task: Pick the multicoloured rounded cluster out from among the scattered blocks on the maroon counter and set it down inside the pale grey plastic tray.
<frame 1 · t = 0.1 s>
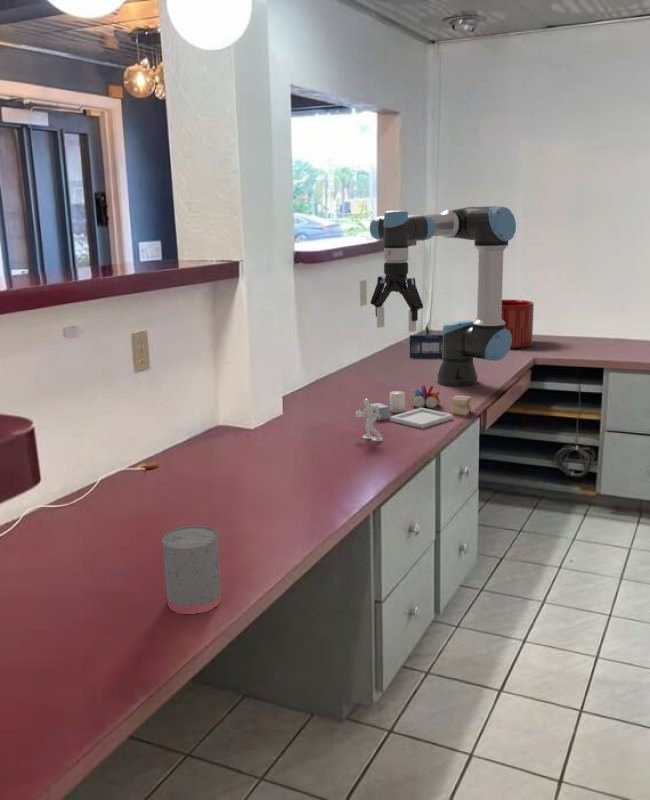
hand: (396, 329, 250), 28 cm above the worktop, fingers open, 13 cm apart
speckled grey cylinder: (194, 602, 139), on the worktop
multicoloured rounded cluster: (425, 406, 265), on the worktop
slate block: (378, 417, 253), on the worktop
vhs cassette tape: (430, 357, 346), on the worktop
planter: (506, 345, 369), on the worktop
figurine: (368, 439, 231), on the worktop
oak block: (460, 412, 256), on the worktop
tray: (421, 419, 248), on the worktop
white domed cylinder: (397, 410, 260), on the worktop
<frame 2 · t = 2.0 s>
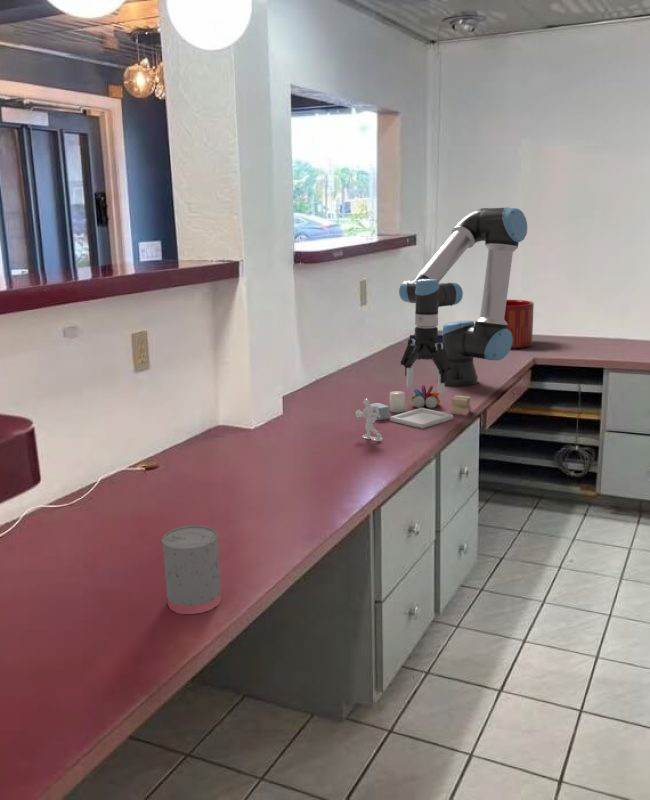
hand: (425, 389, 264), 6 cm above the worktop, fingers open, 13 cm apart
nothing on the worktop moved.
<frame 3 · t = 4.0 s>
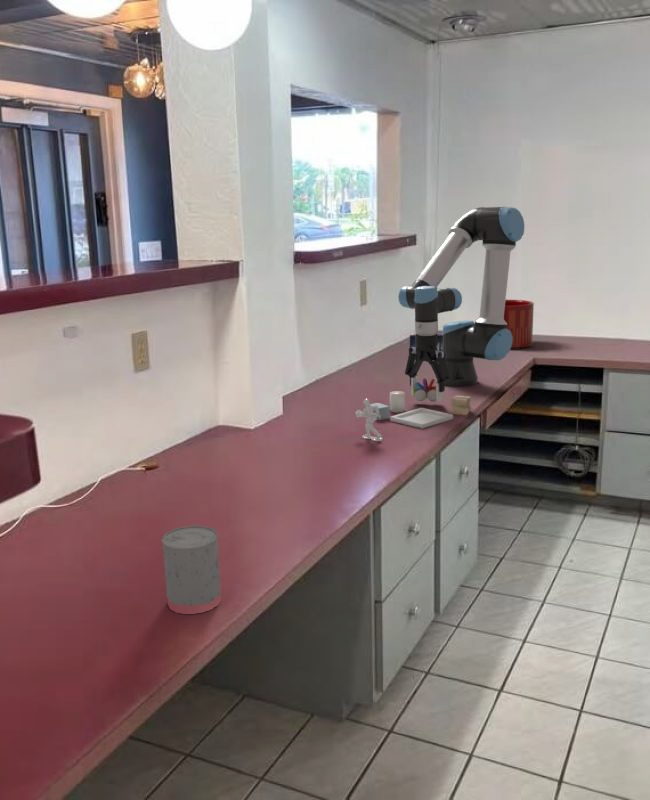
hand: (427, 398, 265), 2 cm above the worktop, fingers closed on multicoloured rounded cluster, 10 cm apart
multicoloured rounded cluster: (427, 399, 265), point 2 cm above the worktop, touching gripper
everything else where it was.
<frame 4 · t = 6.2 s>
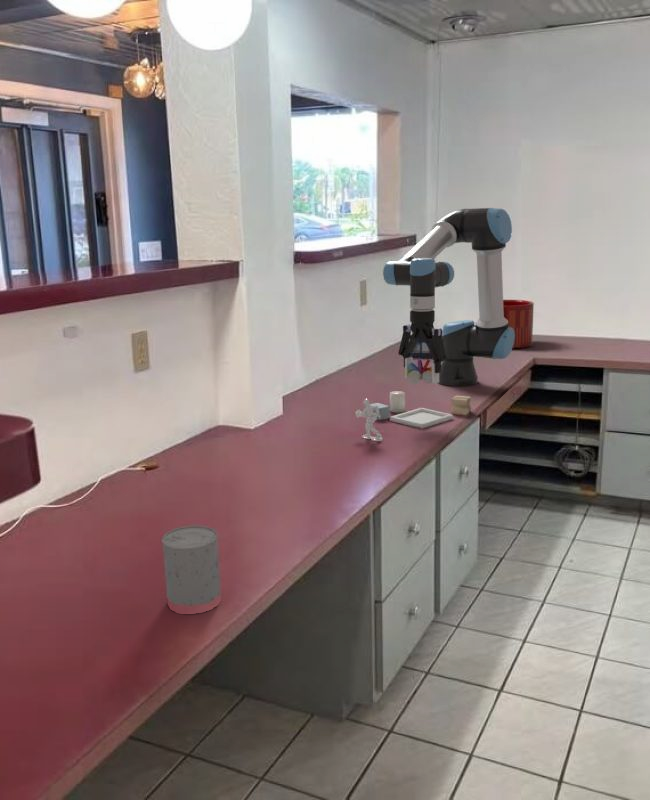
hand: (421, 380, 245), 13 cm above the worktop, fingers closed on multicoloured rounded cluster, 10 cm apart
multicoloured rounded cluster: (422, 382, 245), point 12 cm above the worktop, touching gripper
everything else where it was.
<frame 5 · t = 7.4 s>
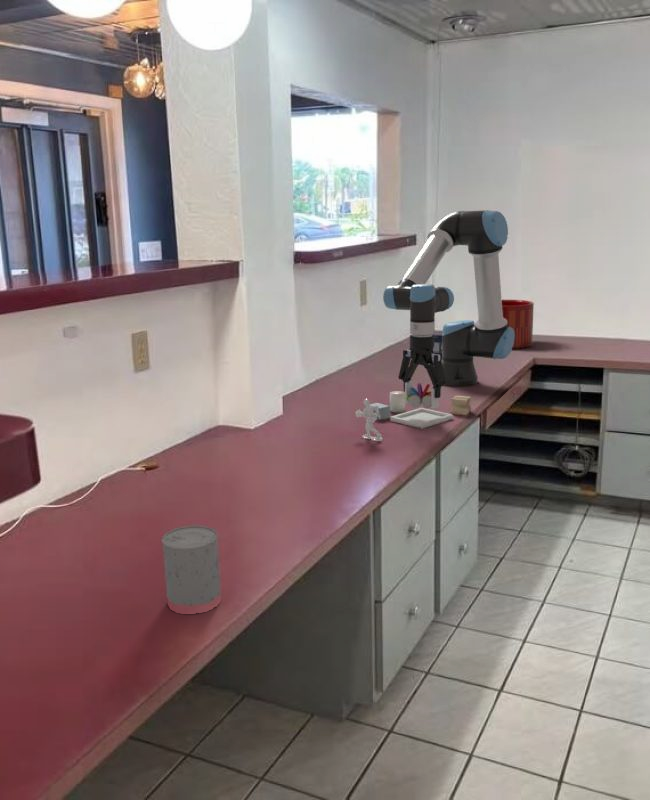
hand: (421, 404, 247), 5 cm above the worktop, fingers closed on multicoloured rounded cluster, 10 cm apart
multicoloured rounded cluster: (421, 406, 247), point 4 cm above the worktop, touching gripper
everything else where it was.
when the fingers open (2 cm above the worktop, at t = 8.5 s): multicoloured rounded cluster drops 1 cm, resting on tray.
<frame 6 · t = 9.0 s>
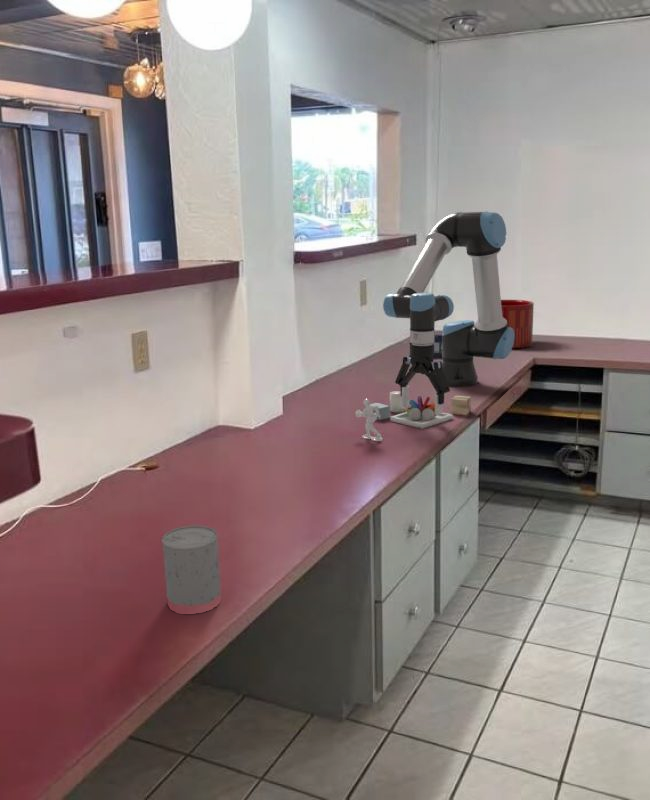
hand: (421, 410, 247), 3 cm above the worktop, fingers open, 13 cm apart
multicoloured rounded cluster: (422, 419, 248), resting on tray
everything else where it was.
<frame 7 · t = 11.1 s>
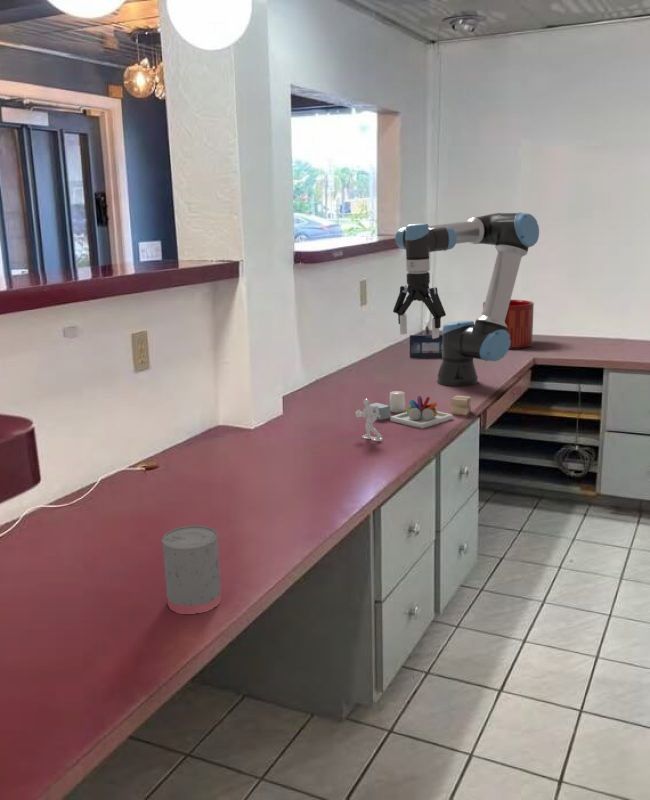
hand: (419, 335, 262), 23 cm above the worktop, fingers open, 13 cm apart
nothing on the worktop moved.
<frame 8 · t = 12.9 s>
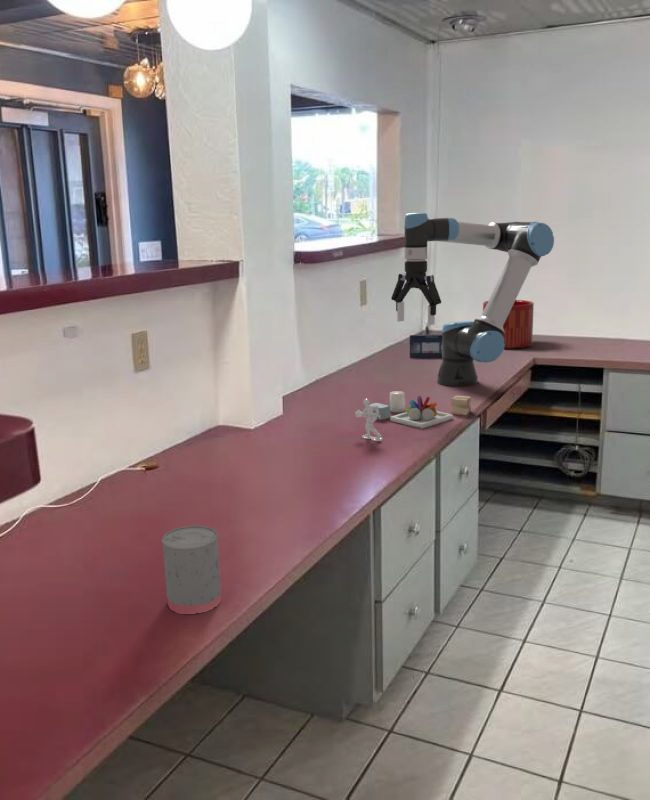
hand: (415, 323, 268), 27 cm above the worktop, fingers open, 13 cm apart
nothing on the worktop moved.
at the end: multicoloured rounded cluster inside the target area on the tray (0.1 cm from its centre), point 0.3 cm above the tray's base; multicoloured rounded cluster tilted 0°; the gripper is holding nothing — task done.
